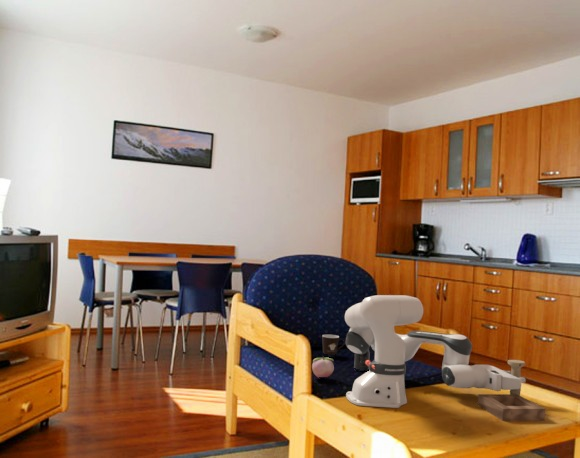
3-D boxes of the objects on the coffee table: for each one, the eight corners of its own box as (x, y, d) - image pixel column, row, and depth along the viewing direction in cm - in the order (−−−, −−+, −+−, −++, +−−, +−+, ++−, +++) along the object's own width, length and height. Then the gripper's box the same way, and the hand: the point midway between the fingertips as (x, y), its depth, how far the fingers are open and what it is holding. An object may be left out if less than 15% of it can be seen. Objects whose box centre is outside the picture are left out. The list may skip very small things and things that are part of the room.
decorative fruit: (328, 376, 219) (329, 352, 219) (335, 381, 211) (337, 357, 211) (307, 376, 216) (309, 353, 216) (314, 382, 208) (316, 357, 208)
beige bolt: (526, 401, 196) (527, 362, 197) (510, 401, 195) (512, 362, 196) (518, 397, 201) (520, 359, 201) (503, 397, 200) (505, 359, 200)
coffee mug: (320, 357, 253) (321, 337, 253) (321, 353, 261) (322, 334, 262) (343, 359, 251) (344, 339, 251) (344, 355, 260) (345, 335, 260)
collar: (502, 420, 173) (502, 408, 174) (477, 405, 189) (478, 394, 189) (544, 420, 176) (545, 408, 176) (516, 405, 192) (517, 394, 192)
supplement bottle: (371, 370, 233) (372, 343, 233) (365, 373, 227) (366, 346, 227) (357, 367, 236) (358, 341, 237) (351, 370, 231) (352, 343, 231)
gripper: (470, 377, 207) (502, 377, 209) (499, 392, 186) (533, 392, 189) (471, 361, 207) (502, 361, 209) (500, 375, 186) (534, 375, 189)
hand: (517, 376), depth 199 cm, fingers open, 7 cm apart
